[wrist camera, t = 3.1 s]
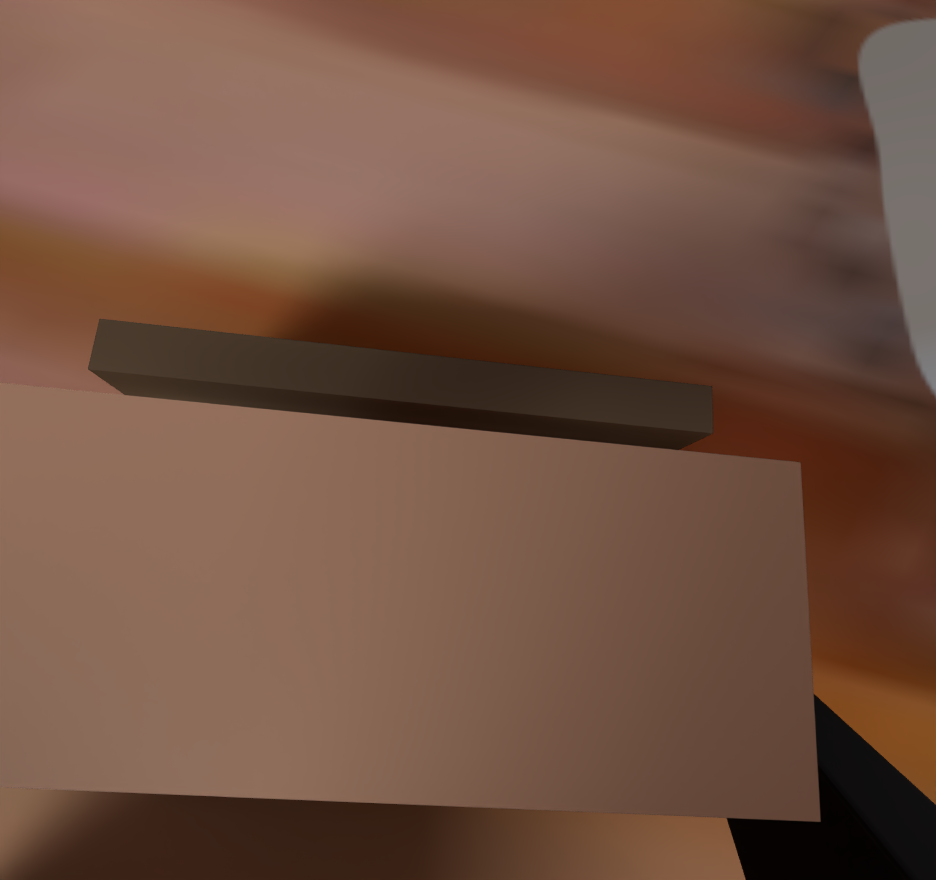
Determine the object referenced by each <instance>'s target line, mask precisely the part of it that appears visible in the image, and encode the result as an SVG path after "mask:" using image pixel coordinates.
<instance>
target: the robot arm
mask: <svg viewBox="0 0 936 880" xmlns="http://www.w3.org/2000/svg"><path fill="white" fill-rule="evenodd" d="M814 712H815V730H816V748H817V766H818V784H819V802H820V820H821V822H813V821H790V820H766V819H742V818H727V821H728V824H729V827H730V830H731V834H732V837H733V840H734V843H735V846H736V850H737V853H738V856H739V859H740V863H741V866H742V869H743V872H744V876H745V879H746V880H936V805H935V804H934V803H933V802H932V801H931V800H930V799H929V798H928V797H927V796H925V795H924V794H923V793H922V792H921V791H920V790H919V789H918V788H917V787H916V786H914V785H913V784H912V783H911V782H910V781H909V780H908V779H907V778H906V777H905V776H904V775H902V774H901V773H900V772H899V771H898V770H897V769H896V768H895V767H894V766H893V765H891V764H890V763H889V762H888V761H887V760H886V759H885V758H884V757H883V756H882V755H880V754H879V753H878V752H877V751H876V750H875V749H874V748H873V747H872V746H871V745H869V744H868V743H867V742H866V741H865V740H864V739H863V738H862V737H861V736H860V735H858V734H857V733H856V732H855V731H854V730H853V729H852V728H851V727H850V726H849V725H847V724H846V723H845V722H844V721H843V720H842V719H841V718H840V717H839V716H838V715H837V714H835V713H834V712H833V711H832V710H831V709H830V708H829V707H828V706H827V705H826V704H824V703H823V702H822V701H821V700H820V699H819V698H818V697H817V696H816V695H815V694H814Z"/></svg>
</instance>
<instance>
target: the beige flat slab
mask: <svg viewBox="0 0 936 880" xmlns="http://www.w3.org/2000/svg"><path fill="white" fill-rule="evenodd" d="M0 787H7V788H30V789H54V790H78V791H102V792H125V793H149V794H173V795H196V796H220V797H244V798H268V799H291V800H315V801H339V802H363V803H386V804H410V805H434V806H457V807H481V808H505V809H529V810H552V811H576V812H600V813H624V814H647V815H671V816H695V817H718V818H742V819H766V820H790V821H813V822H821V820H820V802H819V784H818V766H817V748H816V730H815V712H814V694H813V676H812V658H811V640H810V622H809V604H808V586H807V568H806V550H805V533H804V515H803V497H802V479H801V462H792V461H782V460H772V459H762V458H752V457H742V456H732V455H722V454H712V453H702V452H692V451H682V450H672V449H662V448H652V447H642V446H632V445H621V444H611V443H601V442H591V441H581V440H571V439H561V438H551V437H541V436H531V435H521V434H511V433H501V432H491V431H481V430H471V429H461V428H451V427H441V426H431V425H421V424H410V423H400V422H390V421H380V420H370V419H360V418H350V417H340V416H330V415H320V414H310V413H300V412H290V411H280V410H270V409H260V408H250V407H240V406H230V405H220V404H210V403H199V402H189V401H179V400H169V399H159V398H149V397H139V396H129V395H119V394H109V393H99V392H89V391H79V390H69V389H59V388H49V387H39V386H29V385H19V384H9V383H0Z"/></svg>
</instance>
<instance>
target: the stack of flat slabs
mask: <svg viewBox="0 0 936 880" xmlns="http://www.w3.org/2000/svg"><path fill="white" fill-rule="evenodd" d="M88 370H90V371H91V372H93V373H94V374H96V375H97V376H98V377H100V378H101V379H103V380H104V381H106V382H107V383H109V384H110V385H111V386H113V387H114V388H116V389H117V390H119V391H120V392H122V393H123V394H124V395H129V396H139V397H149V398H159V399H169V400H179V401H189V402H199V403H210V404H220V405H230V406H240V407H250V408H260V409H270V410H280V411H290V412H300V413H310V414H320V415H330V416H340V417H350V418H360V419H370V420H380V421H390V422H400V423H410V424H421V425H431V426H441V427H451V428H461V429H471V430H481V431H491V432H501V433H511V434H521V435H531V436H541V437H551V438H561V439H571V440H581V441H591V442H601V443H611V444H621V445H632V446H642V447H652V448H662V449H672V450H679V449H681V448H683V447H685V446H688V445H690V444H692V443H694V442H696V441H698V440H700V439H702V438H704V437H707V436H709V435H711V434H713V404H712V386H706V385H697V384H688V383H678V382H669V381H660V380H651V379H642V378H633V377H624V376H615V375H606V374H597V373H588V372H579V371H569V370H560V369H551V368H542V367H533V366H524V365H515V364H506V363H497V362H488V361H479V360H470V359H461V358H451V357H442V356H433V355H424V354H415V353H406V352H397V351H388V350H379V349H370V348H361V347H352V346H343V345H333V344H324V343H315V342H306V341H297V340H288V339H279V338H270V337H261V336H252V335H243V334H234V333H224V332H215V331H206V330H197V329H188V328H179V327H170V326H161V325H152V324H143V323H134V322H125V321H116V320H106V319H99V323H98V328H97V332H96V336H95V341H94V345H93V349H92V354H91V358H90V362H89V366H88Z"/></svg>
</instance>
